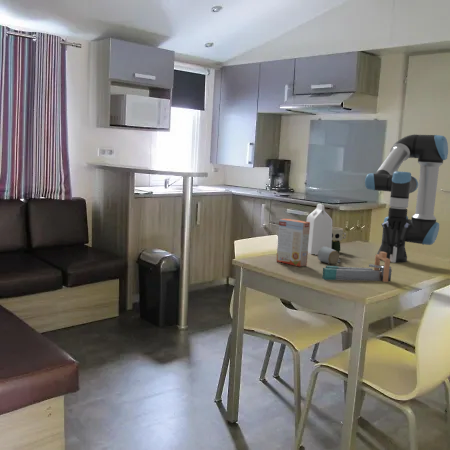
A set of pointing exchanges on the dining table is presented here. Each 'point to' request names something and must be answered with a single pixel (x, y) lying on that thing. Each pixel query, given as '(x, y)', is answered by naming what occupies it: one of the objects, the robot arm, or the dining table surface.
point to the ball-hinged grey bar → (354, 274)
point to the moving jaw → (358, 268)
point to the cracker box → (293, 242)
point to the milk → (319, 230)
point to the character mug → (337, 238)
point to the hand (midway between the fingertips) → (392, 261)
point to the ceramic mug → (328, 255)
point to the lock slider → (386, 265)
